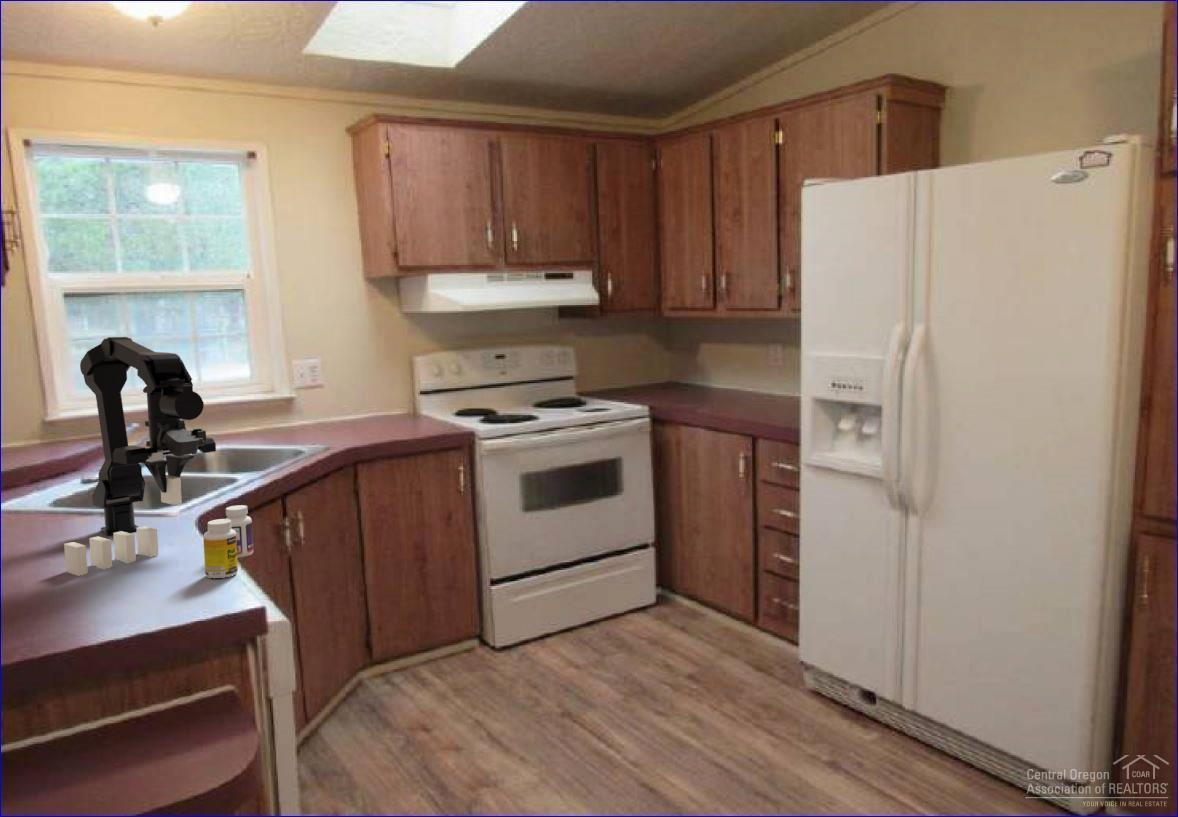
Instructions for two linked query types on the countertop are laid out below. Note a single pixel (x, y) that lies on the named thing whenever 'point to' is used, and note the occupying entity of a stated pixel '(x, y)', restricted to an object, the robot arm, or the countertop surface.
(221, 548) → the supplement bottle
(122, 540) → the domino
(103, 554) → the domino
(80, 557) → the domino
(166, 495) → the domino
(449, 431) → the countertop surface
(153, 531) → the domino
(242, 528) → the pill bottle
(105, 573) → the countertop surface
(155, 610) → the countertop surface
